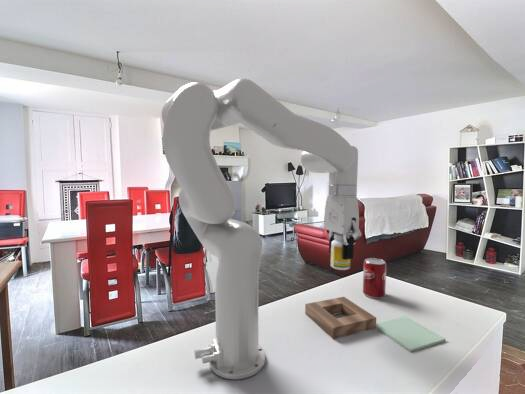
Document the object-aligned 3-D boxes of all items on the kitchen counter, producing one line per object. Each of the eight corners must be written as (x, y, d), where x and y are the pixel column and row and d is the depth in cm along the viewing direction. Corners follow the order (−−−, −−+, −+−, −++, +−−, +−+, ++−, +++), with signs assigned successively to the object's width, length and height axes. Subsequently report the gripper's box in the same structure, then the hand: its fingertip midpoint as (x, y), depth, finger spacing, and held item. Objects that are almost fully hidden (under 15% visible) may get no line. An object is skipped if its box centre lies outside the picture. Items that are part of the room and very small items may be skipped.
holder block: (332, 339, 72) (333, 327, 72) (305, 313, 85) (305, 304, 85) (376, 328, 77) (376, 317, 77) (343, 305, 90) (343, 296, 90)
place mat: (410, 351, 67) (410, 349, 67) (373, 326, 78) (373, 324, 78) (445, 340, 71) (445, 338, 71) (405, 318, 82) (405, 316, 82)
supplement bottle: (326, 265, 81) (327, 232, 80) (342, 263, 83) (343, 231, 82) (338, 271, 76) (339, 236, 75) (354, 269, 78) (355, 234, 77)
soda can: (366, 299, 95) (367, 264, 94) (360, 290, 102) (361, 257, 101) (388, 299, 94) (390, 264, 93) (380, 290, 102) (381, 258, 101)
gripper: (314, 189, 84) (312, 249, 86) (351, 193, 68) (349, 266, 70) (335, 189, 87) (333, 247, 88) (376, 193, 71) (373, 263, 73)
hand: (340, 255), depth 79 cm, fingers closed on supplement bottle, 5 cm apart
